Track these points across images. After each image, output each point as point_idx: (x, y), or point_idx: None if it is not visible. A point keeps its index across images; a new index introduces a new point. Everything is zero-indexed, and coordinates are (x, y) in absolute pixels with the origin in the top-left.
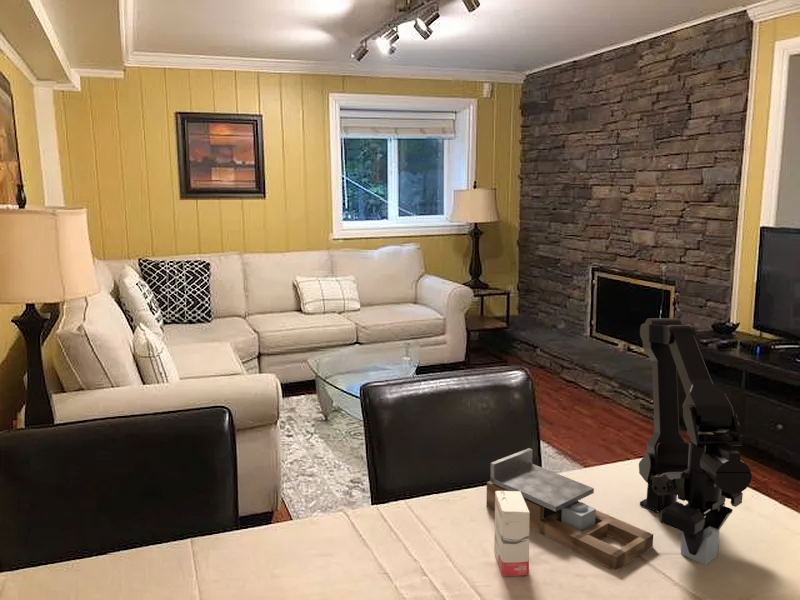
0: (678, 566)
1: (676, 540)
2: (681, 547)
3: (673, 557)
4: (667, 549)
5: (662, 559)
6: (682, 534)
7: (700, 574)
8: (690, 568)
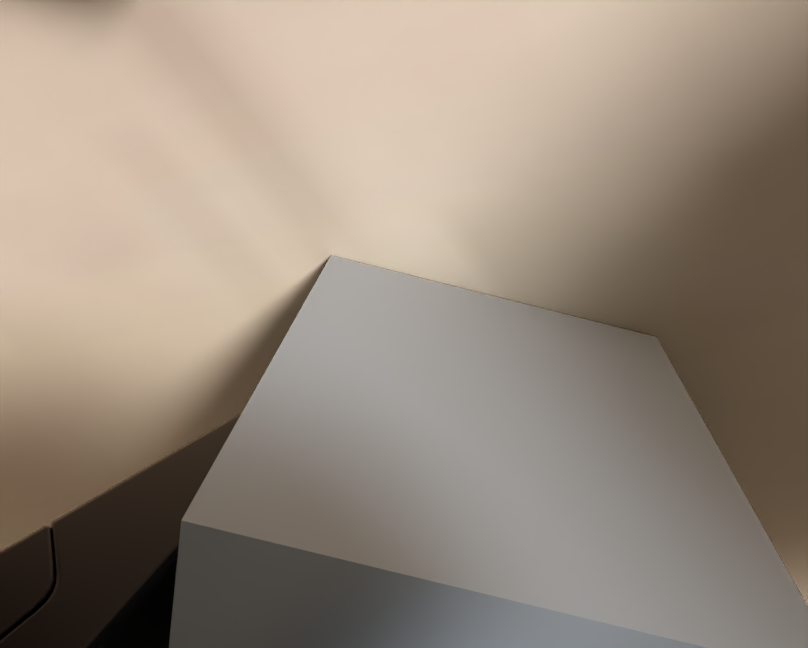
0: (35, 298)
1: (700, 109)
2: (308, 300)
3: (182, 199)
4: (334, 67)
5: (22, 87)
6: (242, 427)
7: (74, 496)
8: (101, 407)
